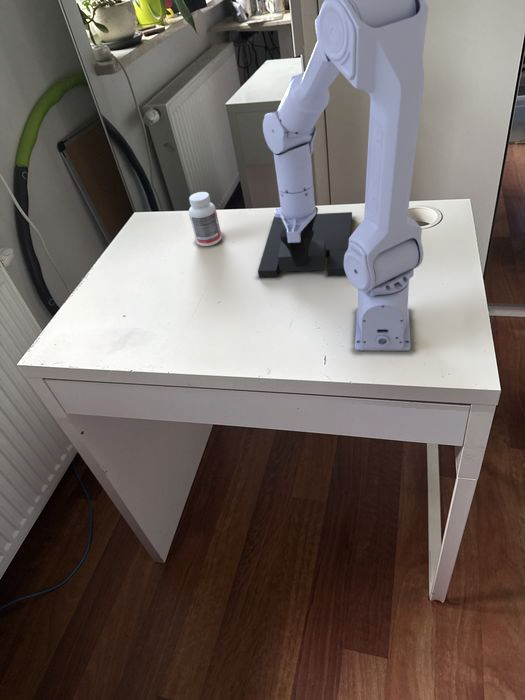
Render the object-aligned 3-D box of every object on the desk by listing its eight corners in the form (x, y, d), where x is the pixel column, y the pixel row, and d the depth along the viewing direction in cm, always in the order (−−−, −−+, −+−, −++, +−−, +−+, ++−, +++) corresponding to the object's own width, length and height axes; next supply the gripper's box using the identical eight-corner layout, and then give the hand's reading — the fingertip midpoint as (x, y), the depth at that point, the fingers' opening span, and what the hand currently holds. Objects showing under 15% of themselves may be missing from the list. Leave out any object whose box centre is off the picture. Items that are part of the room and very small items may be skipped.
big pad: (347, 275, 92) (347, 268, 91) (259, 277, 95) (257, 271, 94) (352, 218, 106) (352, 211, 105) (275, 222, 110) (274, 215, 109)
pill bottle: (226, 239, 107) (217, 195, 101) (204, 250, 105) (193, 205, 99) (213, 230, 111) (203, 187, 104) (192, 240, 109) (180, 197, 102)
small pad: (324, 270, 93) (322, 255, 91) (279, 271, 94) (277, 257, 92) (326, 254, 96) (325, 240, 94) (283, 256, 98) (281, 242, 96)
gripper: (277, 167, 91) (286, 235, 100) (264, 208, 81) (275, 280, 90) (317, 165, 90) (323, 234, 99) (309, 206, 79) (316, 279, 88)
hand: (303, 256), depth 94 cm, fingers closed on small pad, 5 cm apart
